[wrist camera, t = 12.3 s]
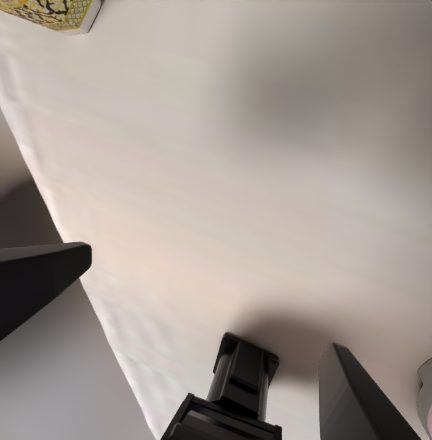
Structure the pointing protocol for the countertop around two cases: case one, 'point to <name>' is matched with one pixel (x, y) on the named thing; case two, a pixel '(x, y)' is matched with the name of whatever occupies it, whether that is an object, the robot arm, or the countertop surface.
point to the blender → (425, 397)
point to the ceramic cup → (55, 13)
